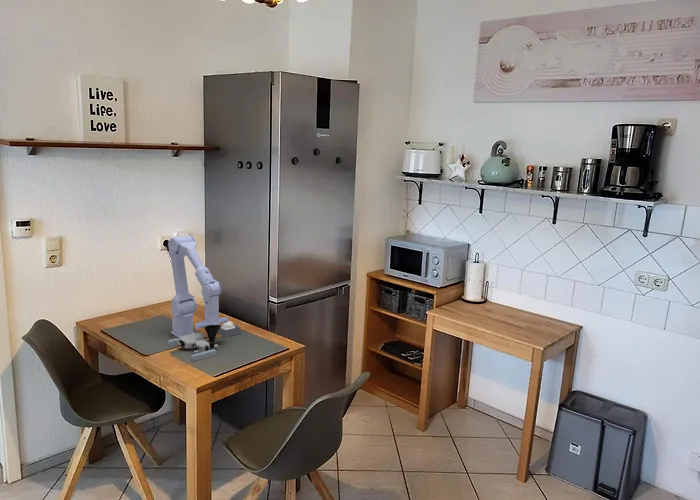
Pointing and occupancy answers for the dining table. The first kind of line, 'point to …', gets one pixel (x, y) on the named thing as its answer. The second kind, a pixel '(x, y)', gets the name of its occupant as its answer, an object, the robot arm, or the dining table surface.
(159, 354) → the dining table surface
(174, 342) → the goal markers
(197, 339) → the robot toy
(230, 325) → the dome button
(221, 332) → the dome collar
